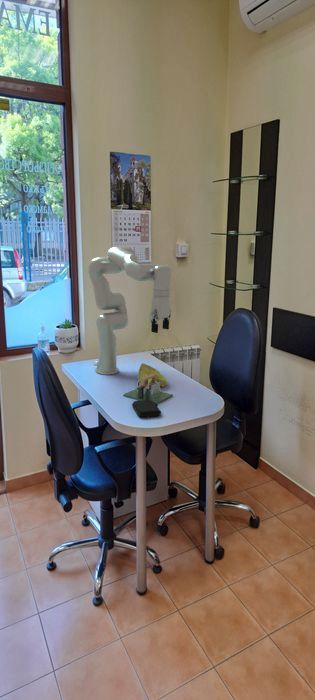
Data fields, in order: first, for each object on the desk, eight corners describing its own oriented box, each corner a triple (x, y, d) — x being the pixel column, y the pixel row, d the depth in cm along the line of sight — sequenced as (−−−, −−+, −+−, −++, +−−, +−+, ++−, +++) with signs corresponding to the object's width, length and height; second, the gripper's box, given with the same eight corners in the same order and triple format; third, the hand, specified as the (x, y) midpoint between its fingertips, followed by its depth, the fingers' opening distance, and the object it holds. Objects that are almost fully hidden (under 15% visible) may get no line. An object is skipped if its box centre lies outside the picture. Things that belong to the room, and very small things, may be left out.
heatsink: (122, 396, 203) (122, 382, 201) (141, 387, 215) (141, 374, 213) (155, 405, 194) (155, 390, 192) (173, 395, 206) (173, 381, 204)
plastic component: (169, 382, 217) (152, 375, 213) (162, 396, 218) (145, 389, 214) (156, 368, 235) (140, 361, 230) (149, 380, 236) (133, 374, 231)
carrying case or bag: (164, 417, 181) (154, 404, 195) (164, 410, 181) (155, 398, 194) (138, 419, 178) (131, 406, 192) (139, 412, 178) (131, 399, 191)
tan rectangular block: (140, 387, 200) (140, 378, 199) (152, 382, 208) (152, 373, 206) (144, 388, 199) (144, 379, 198) (156, 383, 206) (156, 374, 205)
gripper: (164, 291, 210) (162, 326, 214) (144, 294, 196) (143, 332, 200) (178, 292, 206) (176, 328, 211) (158, 296, 192) (157, 335, 196)
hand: (160, 330), depth 205 cm, fingers open, 9 cm apart
